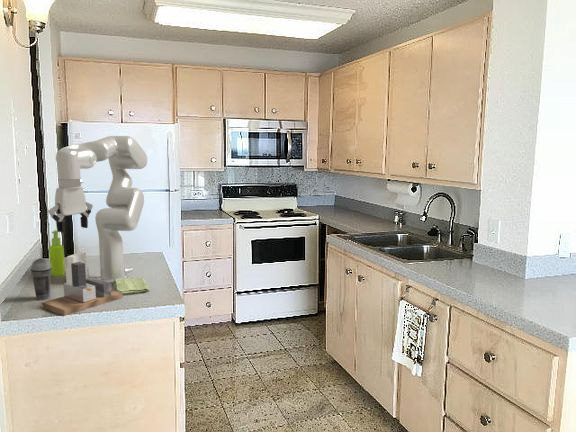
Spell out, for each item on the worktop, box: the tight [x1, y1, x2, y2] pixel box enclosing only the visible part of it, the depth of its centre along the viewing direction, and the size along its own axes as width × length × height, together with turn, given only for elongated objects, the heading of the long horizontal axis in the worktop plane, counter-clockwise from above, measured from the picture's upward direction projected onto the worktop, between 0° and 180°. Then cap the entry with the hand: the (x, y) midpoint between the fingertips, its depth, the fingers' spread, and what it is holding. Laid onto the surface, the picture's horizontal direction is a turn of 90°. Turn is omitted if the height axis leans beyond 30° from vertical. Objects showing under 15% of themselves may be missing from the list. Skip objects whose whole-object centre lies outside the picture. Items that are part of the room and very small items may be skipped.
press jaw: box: [63, 262, 96, 302], centre depth 176 cm, size 5×13×13 cm, turn 56°
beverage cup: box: [30, 247, 52, 301], centre depth 182 cm, size 7×7×20 cm
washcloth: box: [112, 276, 151, 296], centre depth 197 cm, size 13×18×3 cm
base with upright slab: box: [65, 251, 90, 283], centre depth 205 cm, size 9×9×12 cm
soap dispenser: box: [48, 229, 66, 277], centre depth 216 cm, size 6×7×20 cm
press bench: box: [41, 277, 124, 316], centre depth 178 cm, size 24×14×7 cm, turn 146°
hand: (72, 229), depth 178 cm, fingers open, 9 cm apart
